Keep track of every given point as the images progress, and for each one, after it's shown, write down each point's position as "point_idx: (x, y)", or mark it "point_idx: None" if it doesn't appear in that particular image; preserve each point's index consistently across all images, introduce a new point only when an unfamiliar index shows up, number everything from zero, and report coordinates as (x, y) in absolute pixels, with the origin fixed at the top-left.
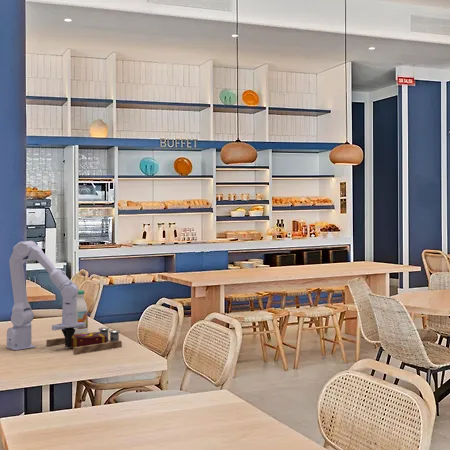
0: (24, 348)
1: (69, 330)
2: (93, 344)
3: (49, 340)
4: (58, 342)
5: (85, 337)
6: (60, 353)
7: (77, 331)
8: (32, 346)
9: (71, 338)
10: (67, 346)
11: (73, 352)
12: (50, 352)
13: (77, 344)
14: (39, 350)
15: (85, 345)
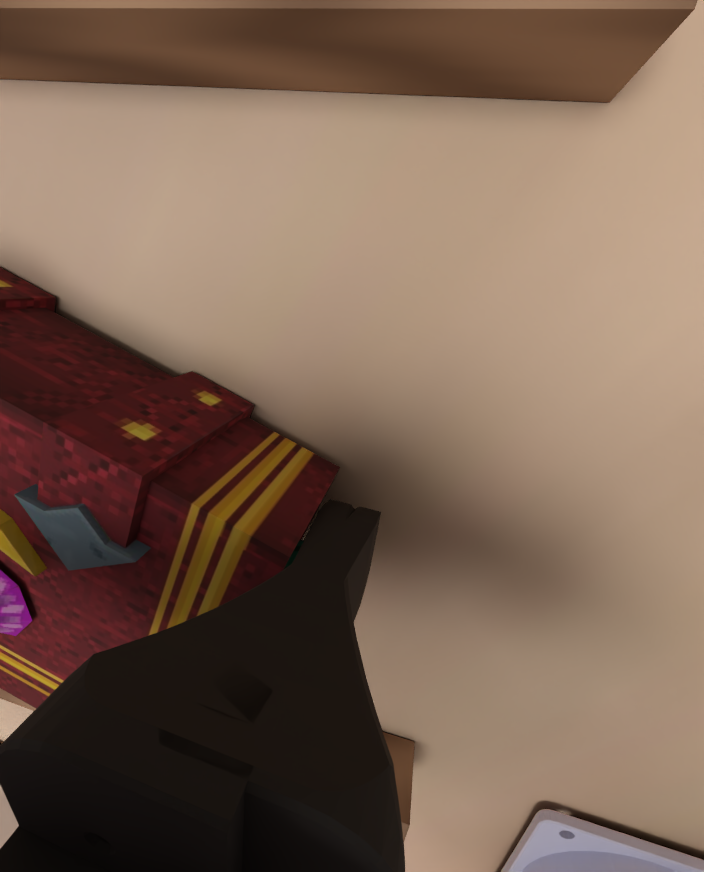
0: (693, 860)
1: (260, 841)
2: (29, 319)
3: None
4: None
5: (10, 462)
6: (692, 361)
7: (2, 791)
8: (578, 837)
9: None
10: (378, 521)
11: (630, 67)
12: (698, 544)
13: (238, 446)
14: (648, 716)
15: (143, 376)
